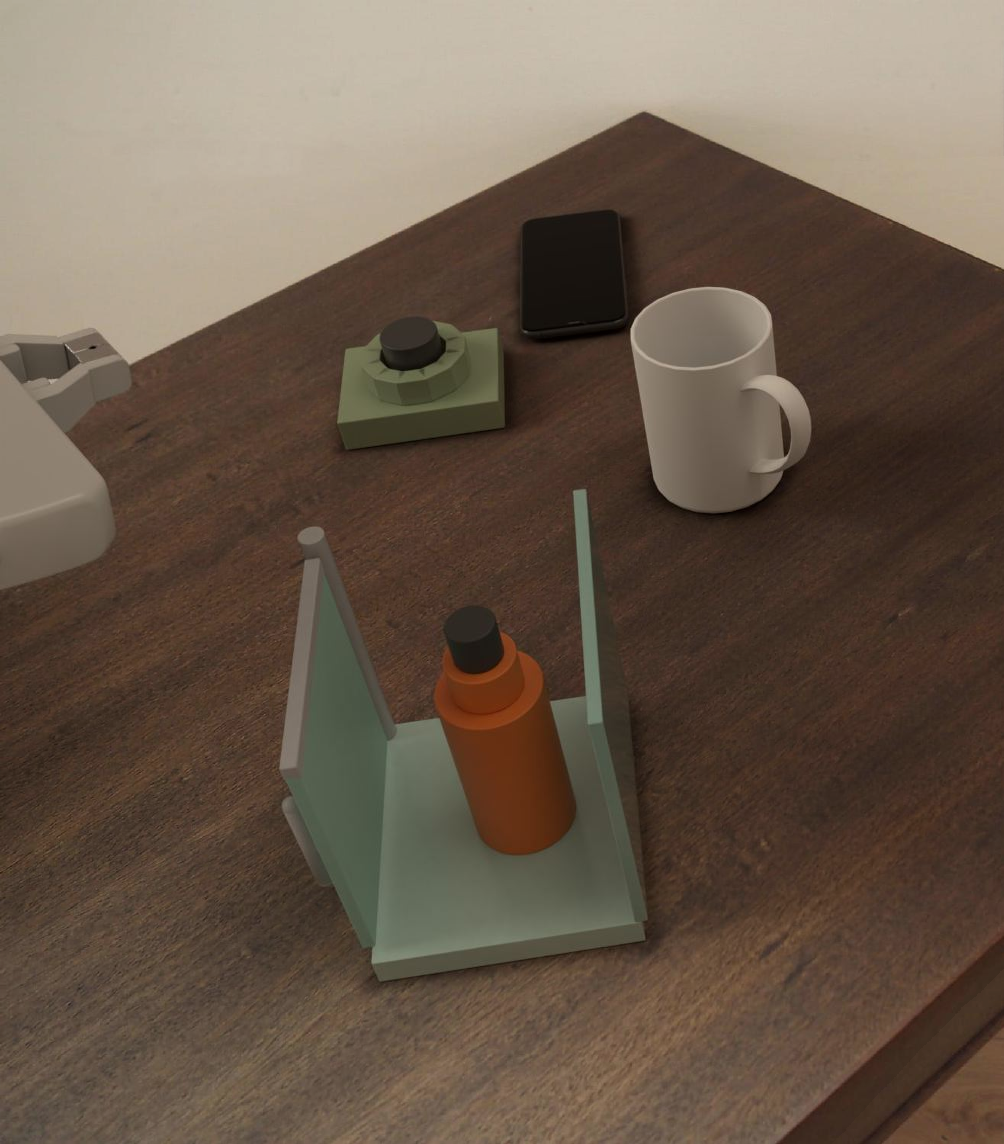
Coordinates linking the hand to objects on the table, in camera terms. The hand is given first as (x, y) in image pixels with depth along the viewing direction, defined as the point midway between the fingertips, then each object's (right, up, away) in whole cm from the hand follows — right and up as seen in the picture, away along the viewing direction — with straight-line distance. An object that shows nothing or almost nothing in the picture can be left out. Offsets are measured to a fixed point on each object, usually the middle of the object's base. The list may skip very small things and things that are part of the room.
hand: (115, 357), depth 70 cm
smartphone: (+16, +11, +40) cm, 45 cm away
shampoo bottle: (+18, -21, +4) cm, 28 cm away
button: (+7, +4, +29) cm, 30 cm away
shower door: (+10, -22, +3) cm, 25 cm away
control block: (+7, +1, +31) cm, 32 cm away
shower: (+17, -22, +5) cm, 28 cm away
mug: (+28, -5, +23) cm, 36 cm away
